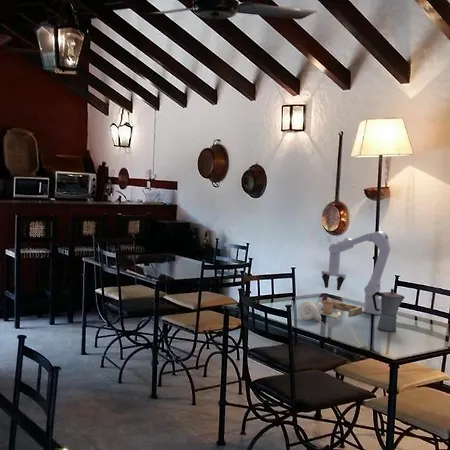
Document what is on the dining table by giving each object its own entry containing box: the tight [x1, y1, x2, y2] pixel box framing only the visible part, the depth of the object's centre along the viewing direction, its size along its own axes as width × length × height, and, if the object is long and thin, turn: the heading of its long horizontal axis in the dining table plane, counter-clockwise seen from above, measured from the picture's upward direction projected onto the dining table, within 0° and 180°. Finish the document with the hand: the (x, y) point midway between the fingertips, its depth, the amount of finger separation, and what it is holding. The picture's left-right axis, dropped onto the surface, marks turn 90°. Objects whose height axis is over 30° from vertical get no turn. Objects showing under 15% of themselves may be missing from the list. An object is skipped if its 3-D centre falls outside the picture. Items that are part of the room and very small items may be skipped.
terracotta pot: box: [322, 299, 334, 314], centre depth 325 cm, size 6×6×6 cm
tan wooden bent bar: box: [315, 300, 363, 317], centre depth 334 cm, size 21×13×3 cm, turn 51°
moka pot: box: [372, 288, 406, 333], centre depth 299 cm, size 10×15×20 cm, turn 89°
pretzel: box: [298, 300, 323, 322], centre depth 309 cm, size 11×12×9 cm
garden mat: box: [320, 309, 343, 318], centre depth 325 cm, size 14×8×1 cm, turn 51°
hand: (332, 288), depth 345 cm, fingers open, 7 cm apart
